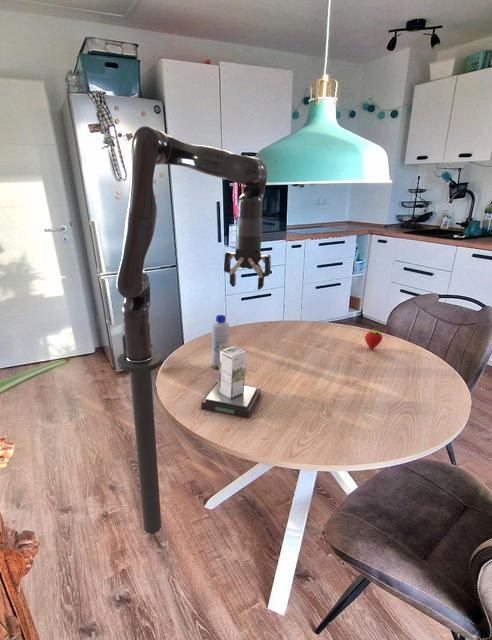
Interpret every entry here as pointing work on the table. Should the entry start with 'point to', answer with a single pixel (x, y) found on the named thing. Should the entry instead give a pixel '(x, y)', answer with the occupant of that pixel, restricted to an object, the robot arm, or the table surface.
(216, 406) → the scale
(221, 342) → the bottle
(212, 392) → the pan
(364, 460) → the table surface
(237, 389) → the syrup box
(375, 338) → the strawberry
